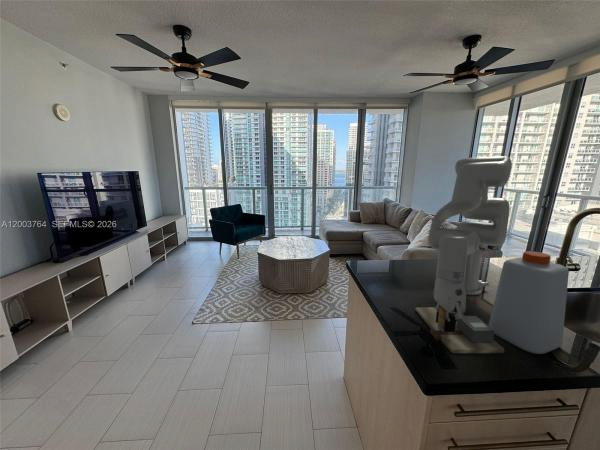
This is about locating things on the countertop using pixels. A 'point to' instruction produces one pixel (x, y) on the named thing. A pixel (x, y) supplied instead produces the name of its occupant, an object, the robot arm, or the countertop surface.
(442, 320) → the orange brown cylinder
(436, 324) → the board
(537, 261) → the plastic bottle
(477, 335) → the block
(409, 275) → the countertop surface
